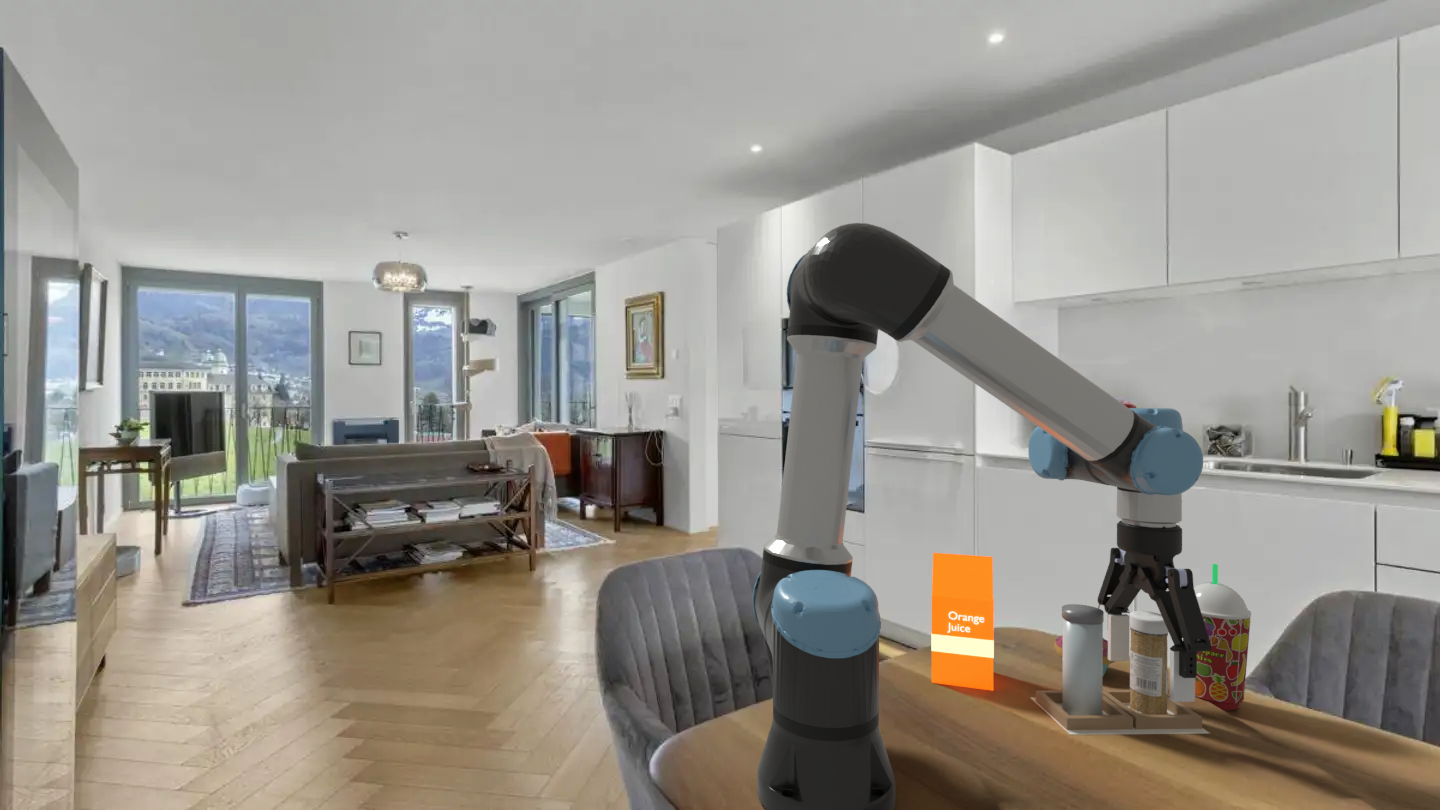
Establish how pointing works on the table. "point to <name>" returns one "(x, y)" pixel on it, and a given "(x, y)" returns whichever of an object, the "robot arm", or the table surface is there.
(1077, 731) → the frame
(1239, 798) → the table surface
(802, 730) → the robot arm
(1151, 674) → the spice jar
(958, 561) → the orange juice
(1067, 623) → the white bottle
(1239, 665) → the smoothie
